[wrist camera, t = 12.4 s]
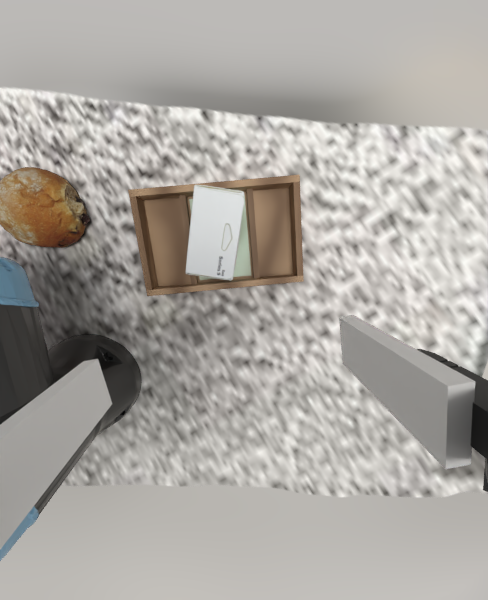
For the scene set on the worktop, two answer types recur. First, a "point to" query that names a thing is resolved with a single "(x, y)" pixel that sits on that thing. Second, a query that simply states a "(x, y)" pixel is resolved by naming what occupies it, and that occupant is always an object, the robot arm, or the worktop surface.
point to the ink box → (214, 232)
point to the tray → (252, 243)
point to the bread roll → (41, 208)
